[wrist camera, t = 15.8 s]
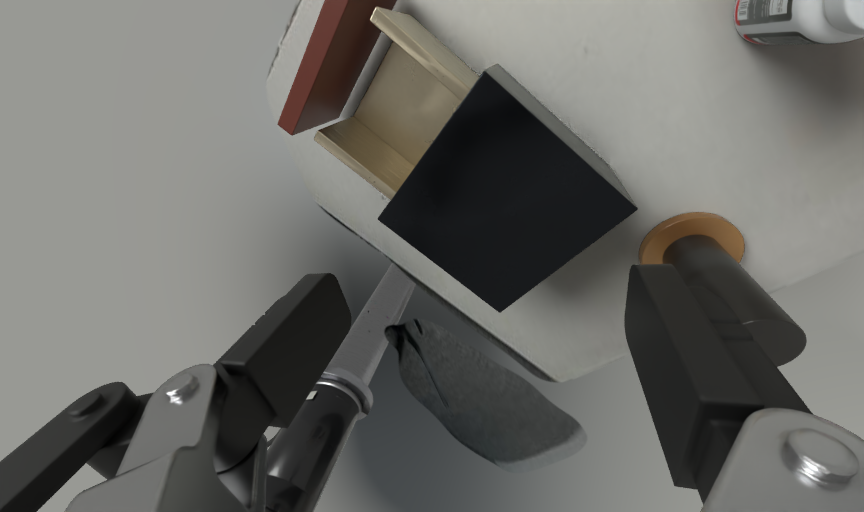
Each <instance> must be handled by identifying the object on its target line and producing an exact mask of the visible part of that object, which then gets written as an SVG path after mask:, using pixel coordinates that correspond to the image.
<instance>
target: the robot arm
mask: <svg viewBox="0 0 864 512" xmlns="http://www.w3.org/2000/svg"><path fill="white" fill-rule="evenodd" d="M350 326H351V313H350V310H349V307H348V305H347V303H346V300H345V298H344V295H343V293H342V290H341V288H340V285H339V283H338V280H337V279H336V277H335V276H334V275H333V274H331V273H321V274H307V275H305V276H304V277H303V278H302V279H301V280H300V281H299V282H298V283H297V284H296V285H295V286H294V287H293V288H292V289H291V290H290V291H289V292H288V293H287V294H286V295H285V296H283V297H282V298H280V299H279V300H277V301H276V302H275V303H274V304H273V305H272V306H271V307H270V309H268V310H267V311H266V312H265V315H263V316H262V317H260V318H259V319H258V320H257V321H256V323H255V325H252V326H251V328H249V330H247V332H246V333H245V334H244V335H243V336H242V337H241V338H240V339H239V340H238V341H237V342H236V343H235V344H234V345H233V346H232V347H231V348H230V349H229V350H228V351H227V352H226V353H225V354H224V355H223V356H222V357H221V358H220V359H219V360H218V361H217V362H216V363H215V364H214V365H213V366H212V365H210V364H199V365H195V366H192V367H190V368H187V369H185V370H183V371H181V372H179V373H177V374H176V375H174V376H173V377H171V378H170V379H168V380H167V381H166V382H165V383H163V384H162V385H161V386H160V387H159V388H158V389H157V390H156V391H155V392H154V393H150V394H145V395H141V396H136V395H135V394H134V393H133V392H132V391H131V390H130V389H129V388H128V387H127V386H126V385H125V384H124V383H123V382H114V383H109V384H106V385H103V386H101V387H99V388H97V389H94V390H92V391H91V392H89V393H87V394H85V395H84V396H82V397H80V398H79V399H78V400H76V401H75V402H73V403H72V404H71V405H70V406H68V407H67V408H66V409H65V410H63V411H62V412H61V413H60V414H58V415H57V416H56V417H55V418H53V419H52V420H51V421H50V422H48V423H47V424H46V425H45V426H44V427H42V428H41V429H40V430H39V431H38V432H36V433H35V434H34V435H33V436H31V437H30V438H29V439H28V440H26V441H25V442H24V443H23V444H21V445H20V446H19V447H18V448H16V449H15V450H14V451H13V452H12V453H10V454H9V455H8V456H7V457H6V458H4V459H3V460H2V461H1V462H0V512H37V511H38V509H40V508H41V507H42V505H44V504H45V503H46V502H47V501H48V500H49V499H50V498H51V497H52V496H53V495H54V494H55V493H56V492H57V491H58V490H59V489H60V488H61V487H62V486H63V485H64V484H65V483H66V482H67V481H68V480H69V479H70V478H71V477H72V476H73V475H74V474H75V473H76V472H77V471H78V470H79V469H80V468H81V467H82V466H83V465H84V464H85V463H87V464H88V465H90V466H91V467H92V468H93V469H95V470H96V471H97V472H99V473H100V474H101V475H102V476H103V477H105V478H106V479H107V480H106V481H104V482H102V483H100V484H98V485H95V486H93V487H91V488H89V489H86V490H84V491H83V492H81V493H79V494H78V495H77V496H76V497H75V498H74V499H73V500H72V501H71V502H70V504H69V505H68V507H67V508H66V510H65V512H314V510H315V508H316V506H317V504H318V501H319V499H320V497H321V495H322V493H323V491H324V488H325V486H326V484H327V482H328V480H329V478H330V475H331V473H332V471H333V469H334V467H335V465H336V462H337V460H338V458H339V456H340V454H341V452H342V450H343V447H344V445H345V443H346V441H347V439H348V436H349V434H350V432H351V430H352V428H353V426H354V424H355V422H356V420H357V418H358V416H359V415H360V412H361V410H362V402H361V400H360V398H359V396H358V395H357V394H356V393H355V392H354V391H353V390H352V389H350V388H349V387H348V386H346V385H344V384H342V383H340V382H338V381H335V380H332V379H326V378H320V377H321V375H322V373H323V372H324V370H325V369H326V367H327V365H328V364H329V362H330V361H331V359H332V358H333V356H334V354H335V353H336V351H337V350H338V348H339V347H340V345H341V343H342V342H343V340H344V339H345V337H346V335H347V334H348V332H349V330H350ZM625 333H626V339H627V343H628V346H629V349H630V352H631V355H632V358H633V361H634V364H635V367H636V370H637V373H638V376H639V379H640V382H641V385H642V388H643V391H644V394H645V397H646V400H647V404H648V406H649V410H650V413H651V416H652V418H653V422H654V425H655V428H656V431H657V434H658V437H659V440H660V443H661V446H662V449H663V452H664V455H665V458H666V461H667V464H668V467H669V470H670V474H671V477H672V479H673V482H674V486H677V487H684V488H691V489H698V492H699V494H700V497H701V500H702V502H703V508H702V509H701V511H700V512H864V440H863V439H861V438H860V437H858V436H857V435H855V434H854V433H852V432H850V431H848V430H846V429H845V428H843V427H841V426H839V425H837V424H835V423H833V422H831V421H828V420H826V419H823V418H821V417H818V416H816V415H813V413H811V411H810V410H809V409H808V408H807V406H806V405H805V403H804V402H803V401H802V399H801V398H800V397H799V396H798V394H797V393H796V392H795V390H794V389H793V388H792V386H791V385H790V384H789V383H788V381H787V380H786V379H785V377H784V376H783V375H782V373H781V372H780V371H779V370H778V368H777V367H776V366H775V364H774V363H773V362H772V360H771V359H770V358H769V356H768V355H767V354H766V353H765V351H764V350H763V349H762V347H761V346H760V345H759V343H758V342H757V341H754V340H753V336H752V334H751V333H750V332H749V330H748V329H747V328H746V327H745V325H744V324H741V322H740V319H739V317H738V316H737V315H736V313H735V312H734V311H733V310H732V308H731V307H730V306H729V304H728V303H727V302H726V301H725V300H723V299H722V298H720V297H719V296H717V295H716V294H714V293H713V292H711V291H710V290H708V289H707V288H705V287H703V286H687V285H686V284H685V282H684V281H683V279H682V278H681V276H680V274H679V273H678V271H677V270H676V268H675V267H674V266H673V265H672V264H644V265H632V266H631V269H630V273H629V282H628V291H627V300H626V309H625ZM319 378H320V379H319ZM268 426H273V427H280V428H281V429H280V430H279V432H278V433H277V434H276V435H275V436H274V438H272V439H271V440H270V441H268V442H267V439H266V437H265V435H264V434H263V433H264V432H265V430H266V429H267V427H268ZM270 445H271V446H270ZM269 446H270V448H269V449H268V451H267V447H269Z"/></svg>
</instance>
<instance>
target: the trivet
mask: <svg viewBox="0 0 864 512" xmlns="http://www.w3.org/2000/svg"><path fill="white" fill-rule="evenodd" d="M696 234H698V235H706V236H709V237H712V238H714V239H715V240H716V241H717V242H718V243H719V244H720V245H721V246H722V247H723V248H724V249H725V250H726V251H727V252H728V253H729V254H730V255H731V256H732V257H733V258H734V259H735V260H736V261H737V262H738V264H739V262H740V261H741V259H742V257H743V253H744V239H743V236H742V235H741V233H740V231H739V230H738V229H737V228H736V227H735V226H734V225H733V224H731V223H730V222H729V221H728V220H726V219H725V218H723V217H721V216H718V215H715V214H711V213H704V212H694V213H686V214H681V215H678V216H675V217H672V218H669V219H667V220H665V221H663V222H662V223H660V224H659V225H657V226H656V227H655V228H653V229H652V230H651V231H650V232H649V233H648V234H647V236H646V237H645V238H644V240H643V242H642V244H641V246H640V250H639V261H640V265H644V264H663V262H662V258H663V254H664V252H665V250H666V248H667V247H668V246H669V245H670V244H671V243H673V242H674V241H676V240H677V239H679V238H682V237H685V236H688V235H696Z"/></svg>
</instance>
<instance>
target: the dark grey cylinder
mask: <svg viewBox="0 0 864 512" xmlns="http://www.w3.org/2000/svg"><path fill="white" fill-rule="evenodd" d="M662 262H663V264H672V265H673V266H674V267H675V268H676V270H677V271H678V273H679V274H680V276H681V278H682V279H683V281H684V282H685V284H686V285H687V286H703V287H705V288H707V289H708V290H710V291H711V292H713V293H714V294H716V295H717V296H719V297H720V298H722V299H723V300H725V301H726V302H727V303H728V304H729V306H730V307H731V308H732V310H733V311H734V312H735V313H736V315H737V316H738V317H739V319H740V322H741V324H744V325H745V327H746V328H747V329H748V330H749V332H750V333H751V334H752V336H753V340H754V341H757V342H758V343H759V345H760V346H761V347H762V349H763V350H764V351H765V353H766V354H767V355H768V356H769V358H770V359H771V360H772V362H773V363H774V364H775V366H776V367H778V366H781V365H784V364H786V363H788V362H790V361H792V360H793V359H794V358H796V357H797V356H799V355H800V354H801V353H802V351H803V350H804V348H805V346H806V335H805V333H804V331H803V330H802V329H801V328H800V327H799V326H798V325H797V324H796V323H795V322H794V321H793V320H792V319H791V318H790V317H789V315H788V314H786V312H785V311H784V310H782V308H781V307H780V306H779V305H778V304H777V303H776V302H775V301H774V300H773V299H772V298H771V297H770V296H769V295H768V294H767V293H766V292H765V291H764V290H763V288H762V287H761V286H760V285H759V284H758V283H757V282H756V281H755V280H754V279H753V278H752V277H751V276H750V275H749V274H748V273H747V272H746V271H745V270H744V269H743V268H742V267H741V266H740V265H739V264H738V262H737V261H736V260H735V259H734V258H733V257H732V256H731V255H730V254H729V253H728V252H727V251H726V250H725V249H724V248H723V247H722V246H721V245H720V244H719V243H718V242H717V241H716V240H715V239H714V238H712V237H709V236H706V235H698V234H696V235H688V236H685V237H682V238H679V239H677V240H676V241H674V242H673V243H671V244H670V245H669V246H668V247H667V248H666V250H665V252H664V254H663V258H662Z"/></svg>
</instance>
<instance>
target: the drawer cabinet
mask: <svg viewBox="0 0 864 512" xmlns="http://www.w3.org/2000/svg"><path fill="white" fill-rule="evenodd" d="M637 209H638V208H637V207H636V205H635V204H634V202H633V200H632V199H631V197H630V196H629V194H628V193H627V192H626V190H625V189H624V187H623V186H622V184H621V183H620V181H619V180H618V178H617V177H616V175H615V174H614V172H613V171H612V169H611V168H610V166H609V165H608V164H607V163H606V162H605V161H604V160H603V159H602V158H601V157H599V156H598V155H597V154H596V153H595V152H594V151H593V150H592V149H591V148H590V147H589V146H587V145H586V144H585V143H584V142H583V141H582V140H581V139H580V138H579V137H578V136H576V135H575V134H574V133H573V132H572V131H571V130H570V129H569V128H568V127H567V126H566V125H564V124H563V123H562V122H561V121H560V120H559V119H558V118H557V117H556V116H555V115H553V114H552V113H551V112H550V111H549V110H548V109H547V108H546V107H545V106H544V105H542V104H541V103H540V102H539V101H538V100H537V99H536V98H535V97H534V96H533V95H532V94H530V93H529V92H528V91H527V90H526V89H525V88H524V87H523V86H522V85H521V84H519V83H518V82H517V81H516V80H515V79H514V78H513V77H512V76H511V75H510V74H509V73H507V72H506V71H505V70H504V69H503V68H502V67H501V66H500V65H499V64H496V65H494V66H492V67H490V68H488V69H487V70H485V71H483V73H482V74H481V76H480V77H479V78H478V80H477V81H476V83H475V84H474V85H473V87H472V88H471V89H470V91H469V92H468V94H467V95H466V96H465V98H464V99H463V101H462V102H461V103H460V105H459V106H458V108H457V109H456V110H455V112H454V113H453V114H452V116H451V117H450V119H449V120H448V121H447V123H446V124H445V126H444V127H443V128H442V130H441V131H440V133H439V134H438V135H437V137H436V138H435V140H434V141H433V142H432V144H431V145H430V146H429V148H428V149H427V151H426V152H425V153H424V155H423V156H422V158H421V159H420V160H419V162H418V163H417V165H416V166H415V167H414V169H413V170H412V171H411V173H410V174H409V176H408V177H407V178H406V180H405V181H404V183H403V184H402V185H401V187H400V188H399V190H398V191H397V192H396V194H395V195H394V196H393V198H392V199H391V201H390V202H389V203H388V205H387V206H386V208H385V209H384V210H383V212H382V213H381V215H380V216H379V217H378V220H379V221H380V222H382V223H383V224H384V225H386V226H387V227H388V228H389V229H391V230H392V231H393V232H395V233H396V234H397V235H399V236H400V237H401V238H403V239H404V240H405V241H406V242H408V243H409V244H410V245H412V246H413V247H414V248H416V249H417V250H418V251H420V252H421V253H422V254H423V255H425V256H426V257H427V258H429V259H430V260H431V261H433V262H434V263H435V264H437V265H438V266H439V267H440V268H442V269H443V270H444V271H446V272H447V273H448V274H450V275H451V276H452V277H454V278H455V279H456V280H457V281H459V282H460V283H461V284H463V285H464V286H465V287H467V288H468V289H469V290H471V291H472V292H473V293H474V294H476V295H477V296H478V297H480V298H481V299H482V300H484V301H485V302H486V303H488V304H489V305H490V306H491V307H493V308H494V309H495V310H497V311H498V312H502V311H503V310H504V309H506V308H507V307H508V306H510V305H511V304H512V303H514V302H515V301H516V300H518V299H519V298H520V297H522V296H523V295H524V294H526V293H527V292H528V291H530V290H531V289H532V288H534V287H535V286H536V285H538V284H539V283H540V282H542V281H543V280H544V279H546V278H547V277H548V276H550V275H551V274H552V273H554V272H555V271H556V270H558V269H559V268H560V267H562V266H563V265H564V264H566V263H567V262H568V261H570V260H571V259H572V258H574V257H575V256H576V255H578V254H579V253H580V252H582V251H583V250H584V249H586V248H587V247H588V246H590V245H591V244H592V243H594V242H595V241H596V240H598V239H599V238H600V237H602V236H603V235H604V234H606V233H607V232H608V231H610V230H611V229H612V228H614V227H615V226H616V225H618V224H619V223H620V222H622V221H623V220H624V219H626V218H627V217H628V216H630V215H631V214H632V213H634V212H635V211H636V210H637Z"/></svg>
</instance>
